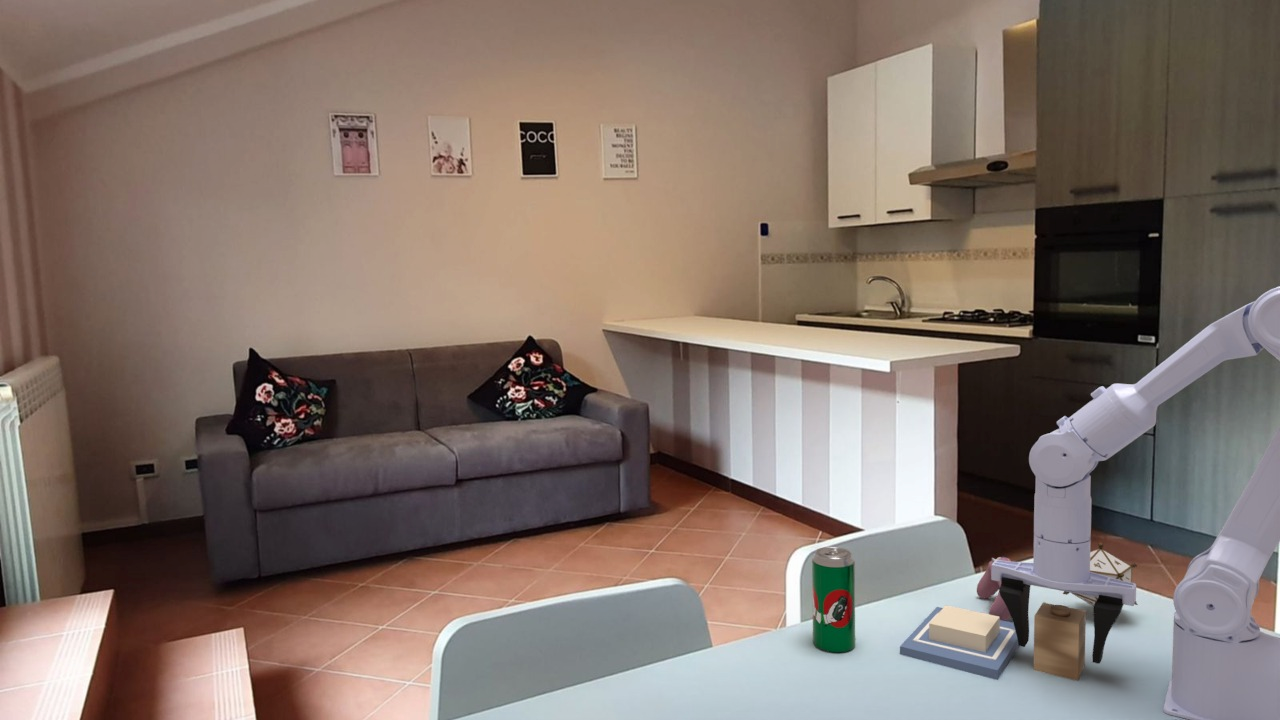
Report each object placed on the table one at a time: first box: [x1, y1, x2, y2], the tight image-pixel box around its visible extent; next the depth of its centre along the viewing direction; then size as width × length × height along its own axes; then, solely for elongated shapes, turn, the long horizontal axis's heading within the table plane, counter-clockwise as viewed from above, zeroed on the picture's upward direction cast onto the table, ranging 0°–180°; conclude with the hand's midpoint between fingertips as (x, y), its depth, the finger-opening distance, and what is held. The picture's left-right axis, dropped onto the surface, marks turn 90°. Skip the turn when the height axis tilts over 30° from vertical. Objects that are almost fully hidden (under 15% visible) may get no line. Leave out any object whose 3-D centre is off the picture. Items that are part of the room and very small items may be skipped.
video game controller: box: [976, 556, 1012, 621], centre depth 111 cm, size 10×5×7 cm, turn 168°
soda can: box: [811, 546, 856, 654], centre depth 101 cm, size 5×5×12 cm
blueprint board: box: [899, 605, 1020, 680], centre depth 101 cm, size 11×14×3 cm
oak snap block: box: [1033, 602, 1087, 682], centre depth 95 cm, size 4×4×7 cm
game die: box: [1062, 541, 1139, 607], centre depth 108 cm, size 9×8×10 cm
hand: (1059, 651), depth 95 cm, fingers open, 7 cm apart
